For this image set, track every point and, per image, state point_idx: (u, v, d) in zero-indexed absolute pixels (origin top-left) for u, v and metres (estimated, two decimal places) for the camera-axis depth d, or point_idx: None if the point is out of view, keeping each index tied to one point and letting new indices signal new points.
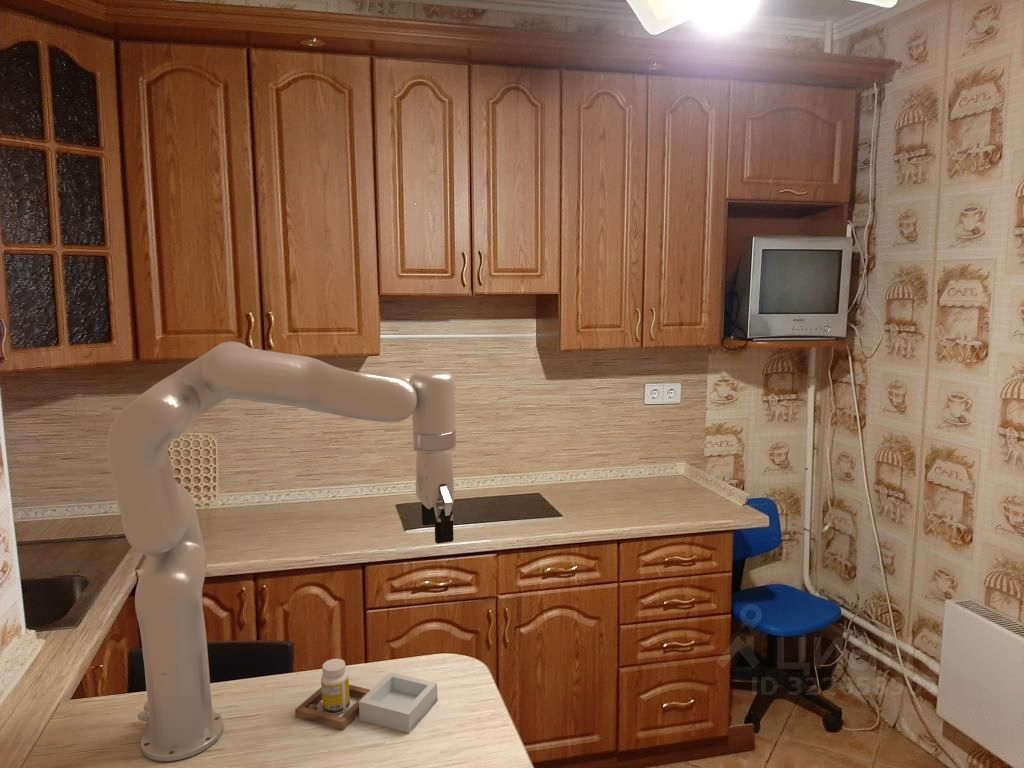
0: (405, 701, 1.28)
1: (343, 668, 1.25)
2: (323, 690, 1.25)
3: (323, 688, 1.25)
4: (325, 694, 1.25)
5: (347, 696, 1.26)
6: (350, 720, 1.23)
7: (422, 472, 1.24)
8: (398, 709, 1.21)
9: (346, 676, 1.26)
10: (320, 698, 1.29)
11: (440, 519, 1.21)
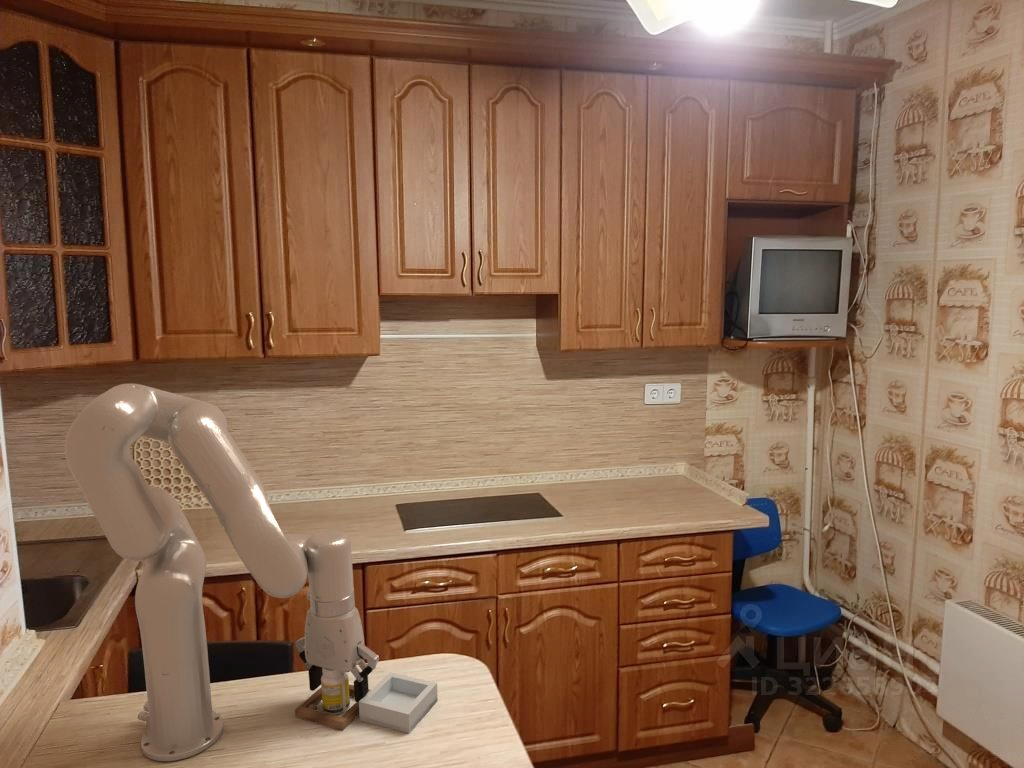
0: (405, 701, 1.28)
1: None
2: (323, 690, 1.25)
3: (323, 688, 1.25)
4: (325, 694, 1.25)
5: (347, 696, 1.26)
6: (350, 720, 1.23)
7: (333, 638, 1.22)
8: (398, 709, 1.21)
9: (346, 676, 1.26)
10: (320, 698, 1.29)
11: (363, 677, 1.23)
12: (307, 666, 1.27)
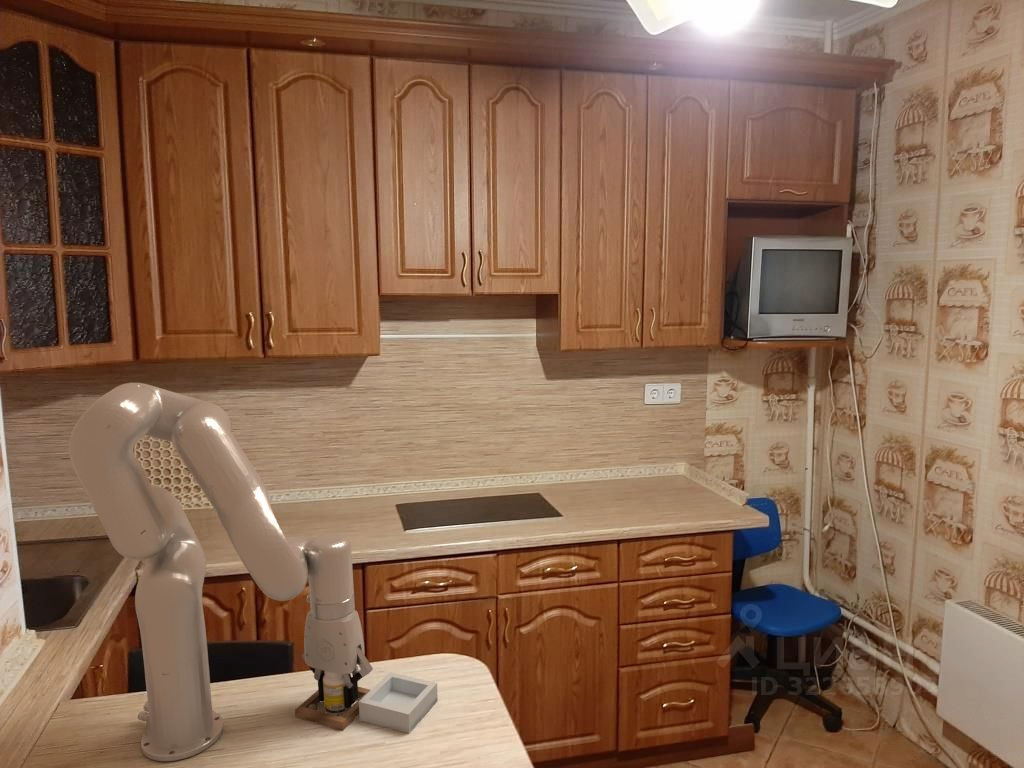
0: (405, 701, 1.28)
1: None
2: (325, 691, 1.25)
3: (325, 688, 1.25)
4: (327, 694, 1.25)
5: None
6: (350, 720, 1.23)
7: (333, 641, 1.22)
8: (398, 709, 1.21)
9: None
10: None
11: (353, 683, 1.24)
12: (317, 677, 1.27)
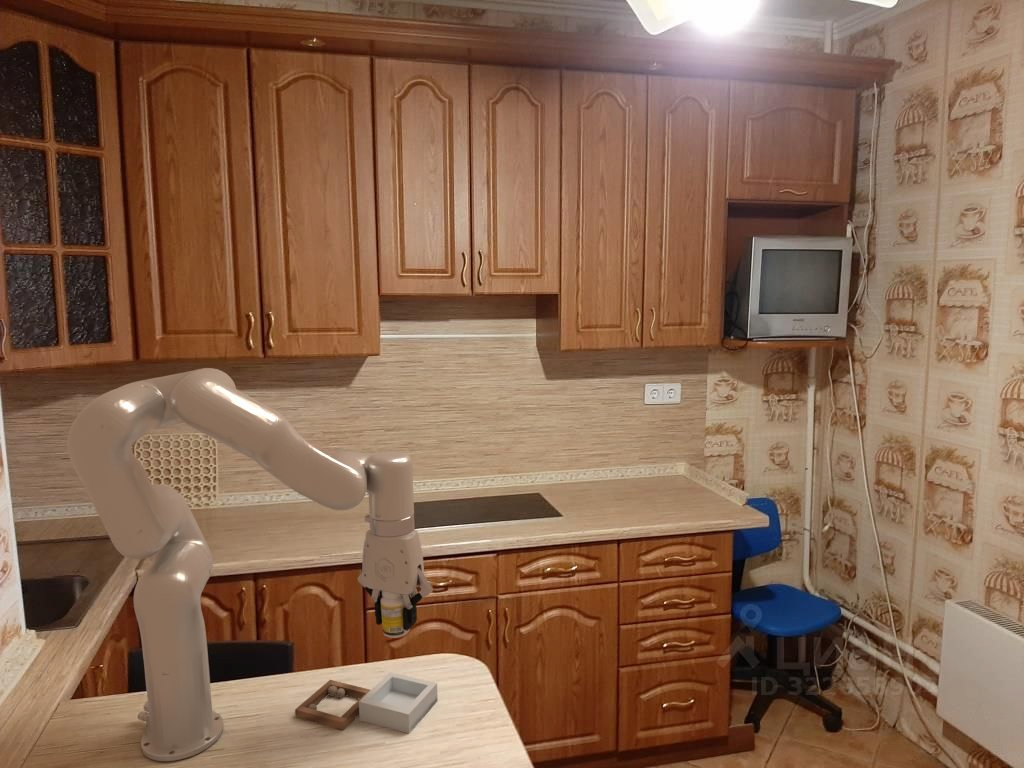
0: (405, 701, 1.28)
1: None
2: (383, 613, 1.22)
3: (383, 610, 1.22)
4: (386, 616, 1.21)
5: None
6: (350, 720, 1.23)
7: (393, 559, 1.19)
8: (398, 709, 1.21)
9: None
10: (320, 698, 1.29)
11: (413, 604, 1.21)
12: (374, 599, 1.23)
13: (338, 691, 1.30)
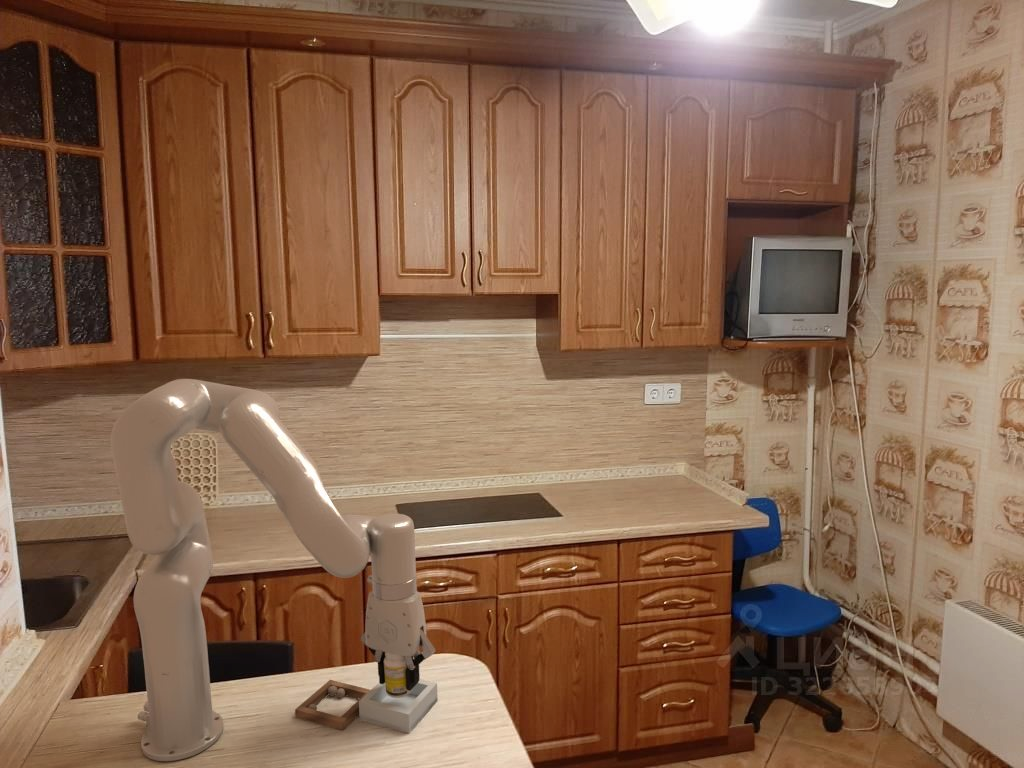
0: (405, 701, 1.28)
1: None
2: (386, 673, 1.23)
3: (386, 671, 1.23)
4: (389, 676, 1.23)
5: None
6: (350, 720, 1.23)
7: (396, 622, 1.20)
8: (398, 709, 1.21)
9: None
10: (320, 698, 1.29)
11: (415, 665, 1.23)
12: (377, 659, 1.25)
13: (338, 691, 1.30)
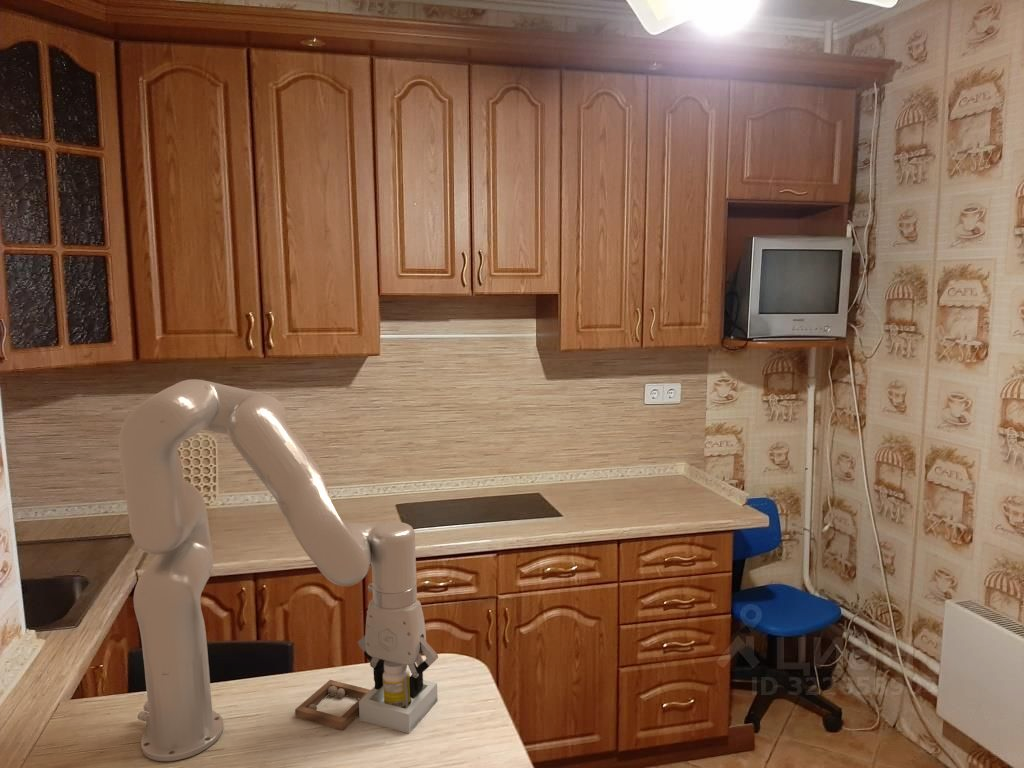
0: None
1: (405, 665, 1.25)
2: (385, 688, 1.24)
3: (385, 685, 1.24)
4: (388, 691, 1.24)
5: (409, 694, 1.25)
6: (350, 720, 1.23)
7: (396, 630, 1.21)
8: (398, 709, 1.21)
9: (408, 673, 1.25)
10: (320, 698, 1.29)
11: (419, 673, 1.22)
12: (373, 664, 1.26)
13: (338, 691, 1.30)
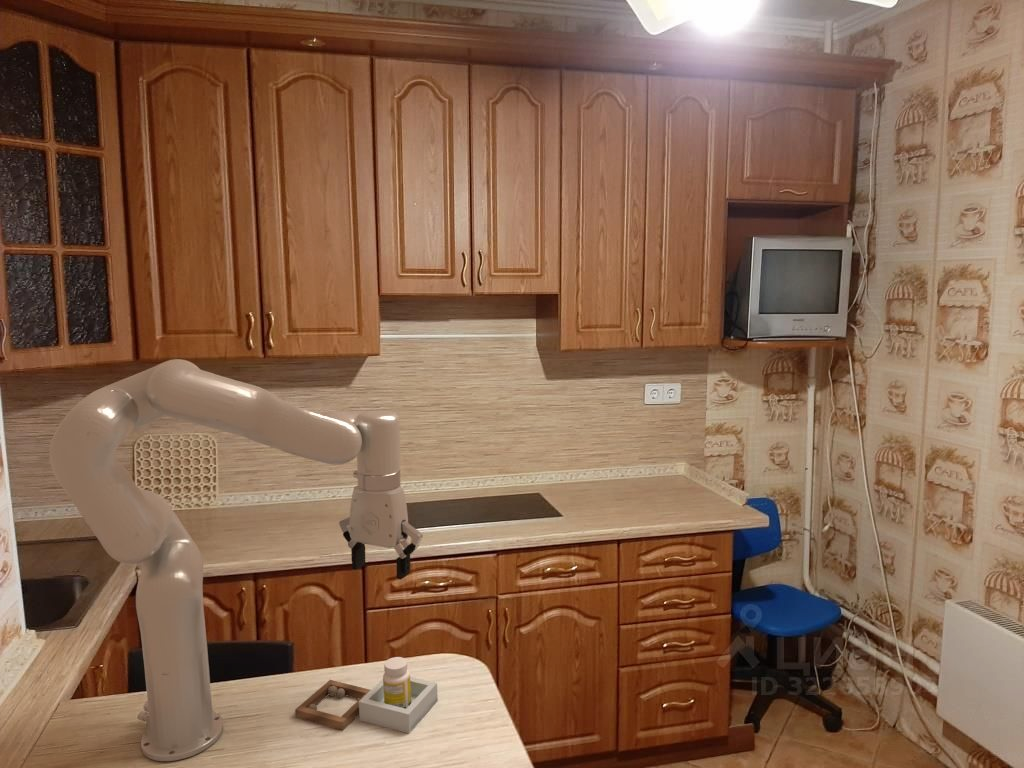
0: None
1: (405, 666, 1.24)
2: (385, 689, 1.24)
3: (386, 687, 1.24)
4: (388, 692, 1.23)
5: (409, 695, 1.25)
6: (350, 720, 1.23)
7: (378, 513, 1.24)
8: (398, 709, 1.21)
9: (408, 674, 1.25)
10: (320, 698, 1.29)
11: (406, 554, 1.25)
12: (350, 545, 1.29)
13: (338, 691, 1.30)
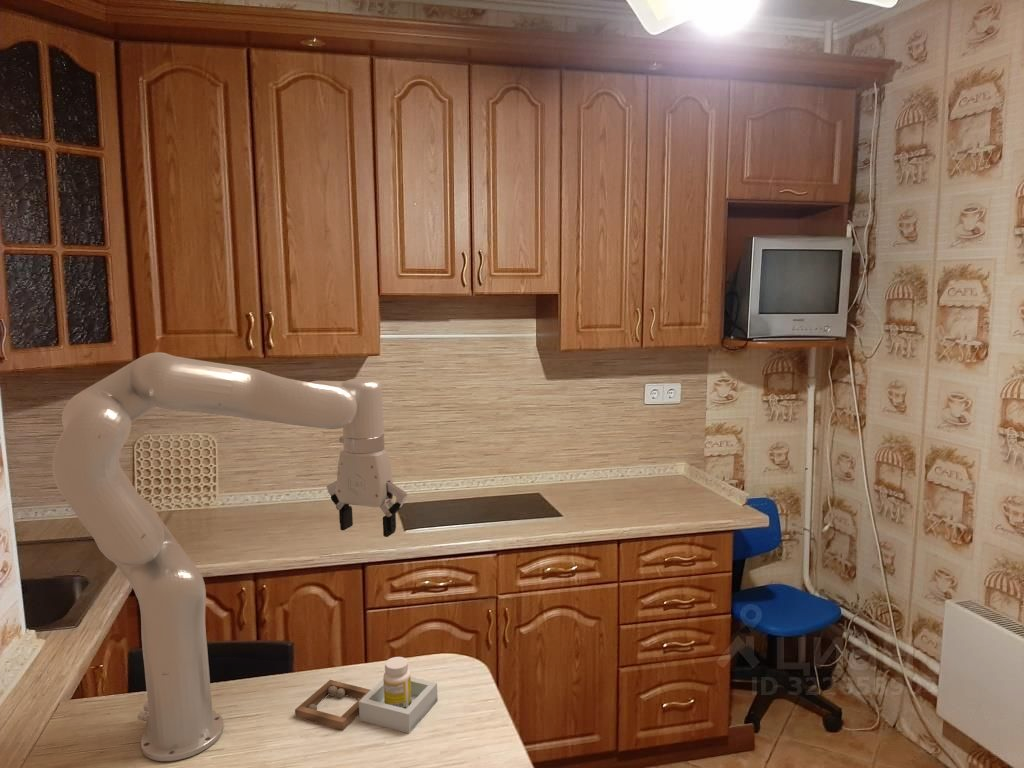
0: None
1: (406, 666, 1.24)
2: (386, 688, 1.24)
3: (386, 686, 1.24)
4: (389, 692, 1.24)
5: (409, 695, 1.25)
6: (350, 720, 1.23)
7: (365, 475, 1.31)
8: (398, 709, 1.21)
9: (409, 674, 1.25)
10: (320, 698, 1.29)
11: (392, 513, 1.32)
12: (338, 507, 1.36)
13: (338, 691, 1.30)
